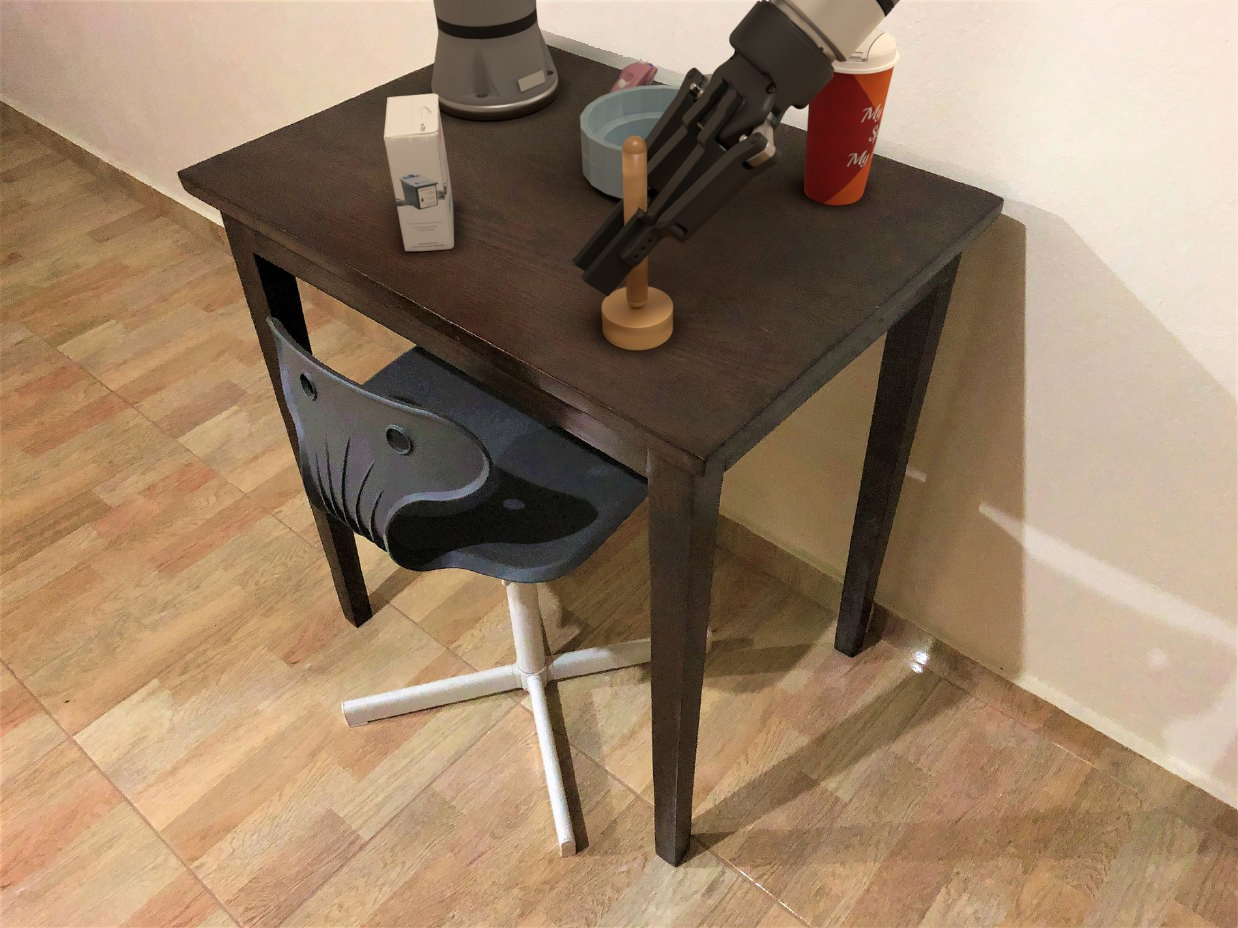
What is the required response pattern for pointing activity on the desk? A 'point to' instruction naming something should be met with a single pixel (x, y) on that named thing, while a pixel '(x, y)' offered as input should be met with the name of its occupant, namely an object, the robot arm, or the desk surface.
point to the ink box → (419, 172)
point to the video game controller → (635, 76)
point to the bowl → (619, 130)
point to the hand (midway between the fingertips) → (590, 278)
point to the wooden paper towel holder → (636, 272)
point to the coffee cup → (848, 122)
